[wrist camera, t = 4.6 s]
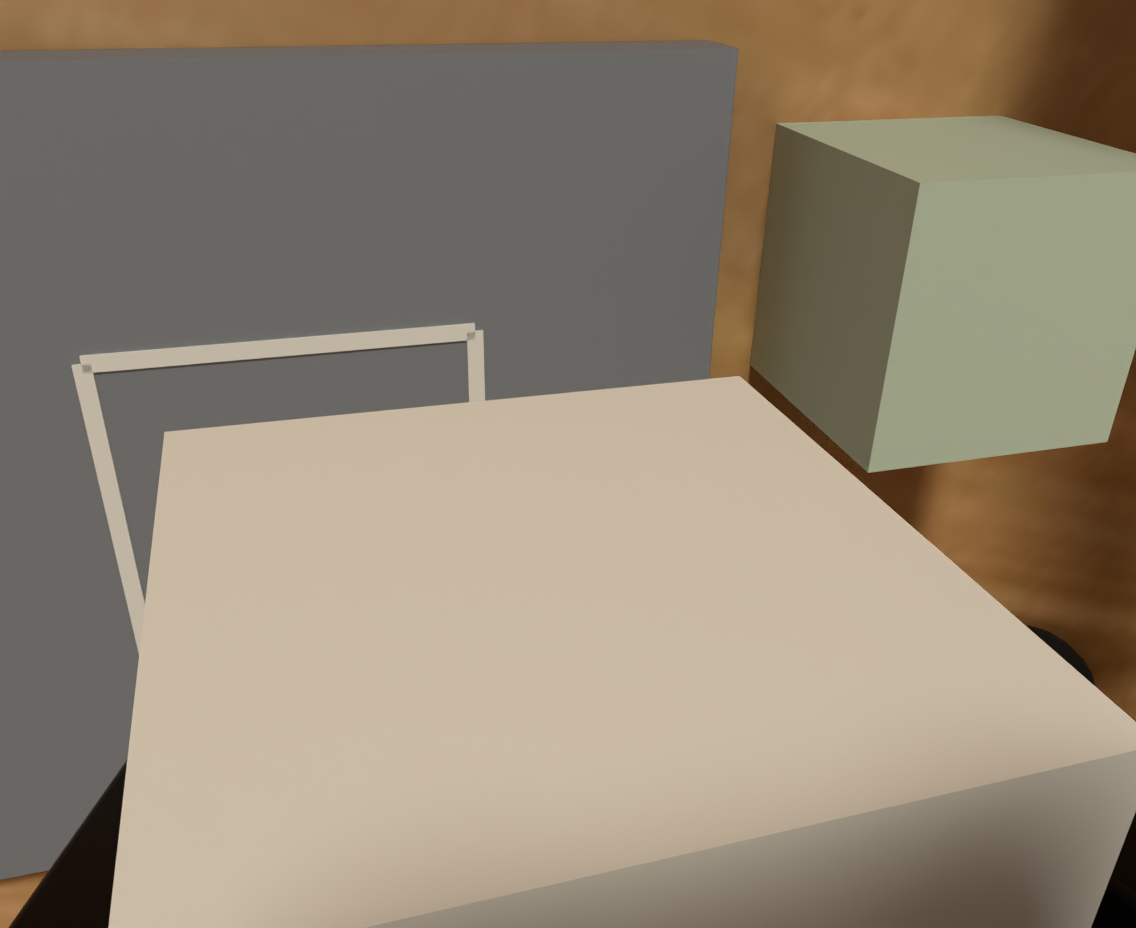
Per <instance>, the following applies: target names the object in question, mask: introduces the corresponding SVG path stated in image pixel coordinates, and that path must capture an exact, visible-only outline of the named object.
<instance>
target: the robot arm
mask: <svg viewBox="0 0 1136 928" xmlns="http://www.w3.org/2000/svg"><path fill="white" fill-rule="evenodd" d="M126 767H127V760H126V762H125V763H124V764H123V766H122V767H121V769H120V770H119V772H118V773H117V774H116V776H115V777H114V779H113V780H112V781H111V783H110V784H109V786H108V787H107V789H106V790H105V791H104V793H103V794H102V796H101V797H100V799H99V800H98V801H97V803H96V804H95V806H94V807H93V808H92V810H91V811H90V813H89V814H88V816H87V817H86V818H85V820H84V821H83V823H82V824H81V825H80V827H79V828H78V830H77V831H76V833H75V834H74V835H73V837H72V838H71V840H70V841H69V843H68V844H67V845H66V847H65V848H64V850H63V851H62V852H61V854H60V855H59V857H58V858H57V860H56V861H55V862H54V864H53V865H52V867H51V868H50V870H49V871H48V872H47V874H46V875H45V877H44V878H43V879H42V881H41V882H40V884H39V885H38V887H37V888H36V889H35V891H34V892H33V894H32V895H31V896H30V898H29V899H28V901H27V902H26V904H25V905H24V906H23V908H22V909H21V911H20V912H19V914H18V915H17V916H16V918H15V919H14V921H13V922H12V923H11V925H10V926H9V928H108V926H109V917H110V909H111V900H112V891H113V882H114V873H115V865H116V856H117V847H118V838H119V829H120V820H121V812H122V803H123V794H124V785H125V776H126ZM1091 928H1136V812H1135V815H1134V817H1133V820H1132V822H1131V825H1130V828H1129V830H1128V833H1127V835H1126V838H1125V841H1124V843H1123V846H1122V848H1121V851H1120V854H1119V856H1118V859H1117V861H1116V864H1115V867H1114V869H1113V872H1112V874H1111V877H1110V880H1109V882H1108V885H1107V887H1106V890H1105V893H1104V895H1103V898H1102V900H1101V903H1100V906H1099V908H1098V911H1097V913H1096V916H1095V919H1094V921H1093V924H1092V926H1091Z"/></svg>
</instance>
